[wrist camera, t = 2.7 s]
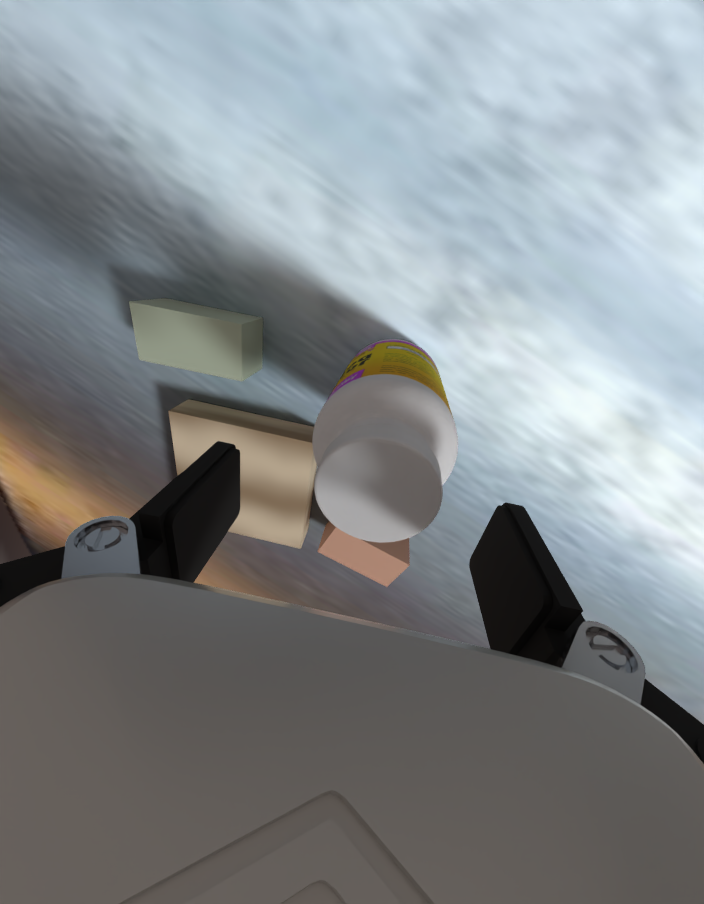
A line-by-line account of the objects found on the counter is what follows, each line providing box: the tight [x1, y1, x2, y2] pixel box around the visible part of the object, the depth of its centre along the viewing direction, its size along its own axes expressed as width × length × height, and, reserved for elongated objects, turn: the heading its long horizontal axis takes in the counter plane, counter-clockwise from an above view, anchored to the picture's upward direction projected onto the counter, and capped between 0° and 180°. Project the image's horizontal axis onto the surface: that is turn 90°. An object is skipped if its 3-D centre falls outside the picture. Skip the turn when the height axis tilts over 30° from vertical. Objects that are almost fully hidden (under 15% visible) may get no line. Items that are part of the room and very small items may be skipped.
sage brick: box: [129, 298, 263, 381], centre depth 21 cm, size 7×4×4 cm, turn 81°
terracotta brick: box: [318, 521, 410, 587], centre depth 28 cm, size 7×4×4 cm, turn 61°
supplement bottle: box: [312, 339, 458, 543], centre depth 17 cm, size 7×7×13 cm
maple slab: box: [169, 399, 317, 549], centre depth 27 cm, size 11×11×2 cm
